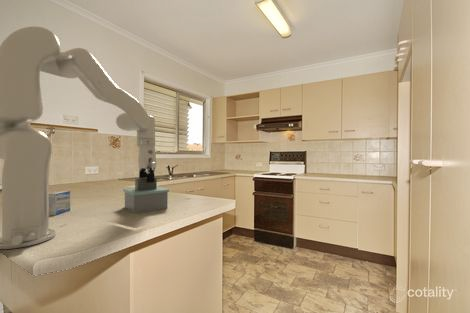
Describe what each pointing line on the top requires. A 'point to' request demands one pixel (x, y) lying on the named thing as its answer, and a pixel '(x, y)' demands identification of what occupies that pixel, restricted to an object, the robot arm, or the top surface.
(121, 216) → the top surface
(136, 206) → the bin
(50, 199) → the medicine box
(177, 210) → the top surface
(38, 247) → the top surface
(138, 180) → the lid
